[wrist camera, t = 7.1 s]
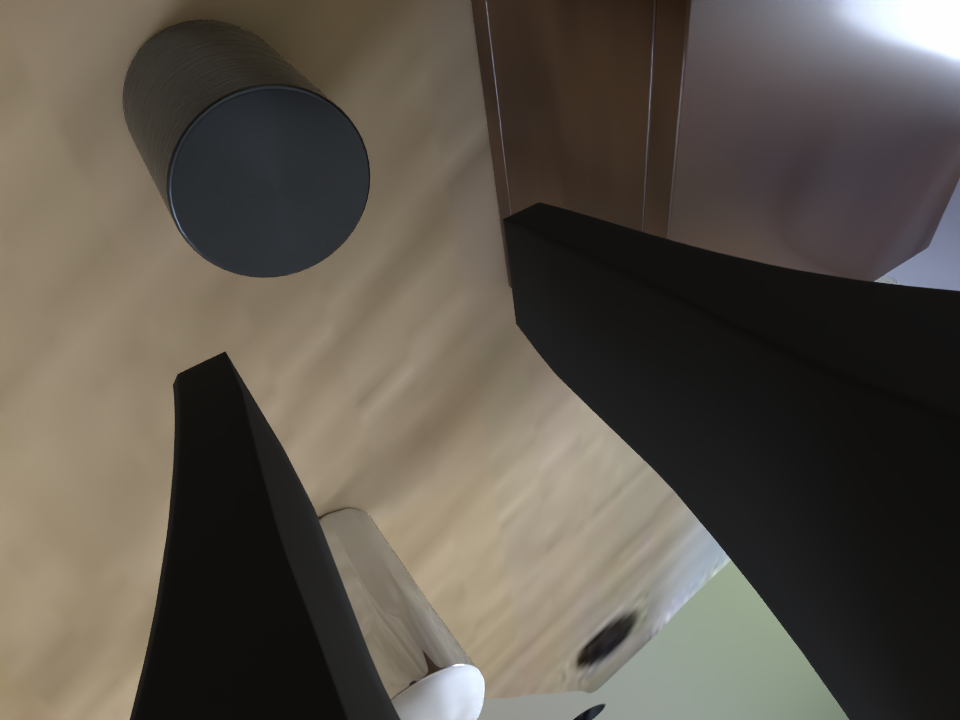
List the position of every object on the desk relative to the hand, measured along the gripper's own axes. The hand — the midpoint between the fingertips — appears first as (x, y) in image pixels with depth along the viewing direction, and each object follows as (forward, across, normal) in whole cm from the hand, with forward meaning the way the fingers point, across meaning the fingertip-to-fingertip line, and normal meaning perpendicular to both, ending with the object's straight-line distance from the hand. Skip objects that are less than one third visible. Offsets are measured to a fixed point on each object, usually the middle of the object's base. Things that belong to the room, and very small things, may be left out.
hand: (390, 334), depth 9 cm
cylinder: (+9, 0, 0) cm, 9 cm away
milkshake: (+10, +3, +18) cm, 20 cm away
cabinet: (+9, -13, +3) cm, 16 cm away
